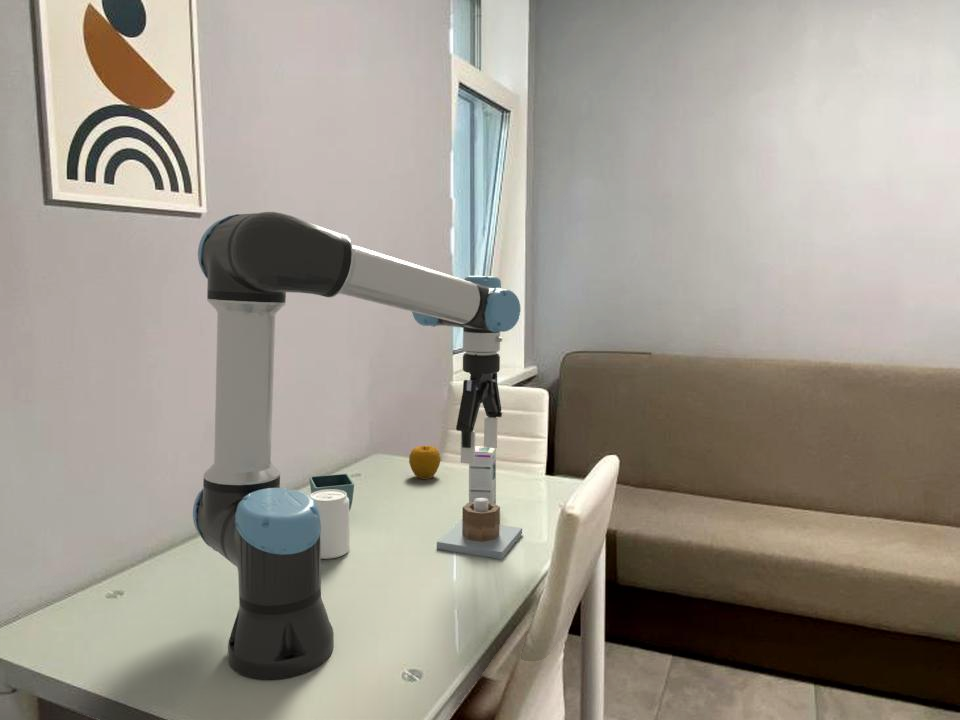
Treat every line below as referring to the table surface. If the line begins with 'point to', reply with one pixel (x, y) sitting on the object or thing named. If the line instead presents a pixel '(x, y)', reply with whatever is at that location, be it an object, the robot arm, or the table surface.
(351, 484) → the flower pot
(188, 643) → the table surface
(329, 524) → the beverage can
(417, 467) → the apple
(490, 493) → the syrup box
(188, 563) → the table surface
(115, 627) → the table surface
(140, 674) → the table surface
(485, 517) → the collar
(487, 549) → the post block
